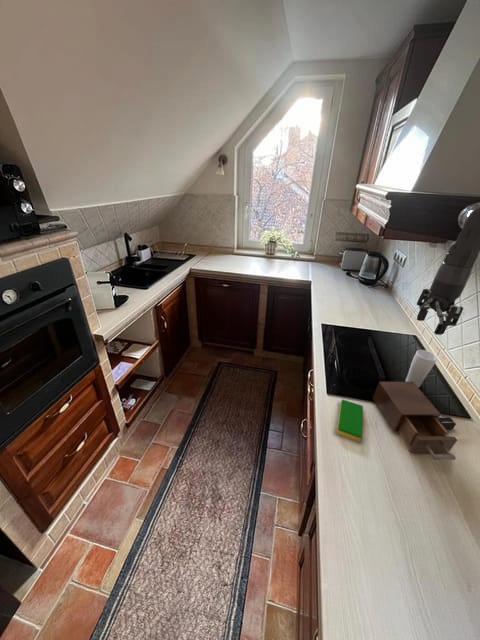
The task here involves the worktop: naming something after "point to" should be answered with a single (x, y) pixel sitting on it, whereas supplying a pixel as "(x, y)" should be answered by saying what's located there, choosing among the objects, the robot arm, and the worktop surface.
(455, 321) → the robot arm
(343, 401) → the dish sponge
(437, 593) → the worktop surface
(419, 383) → the drinking glass
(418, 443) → the drawer
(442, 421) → the clip
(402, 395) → the cabinet
